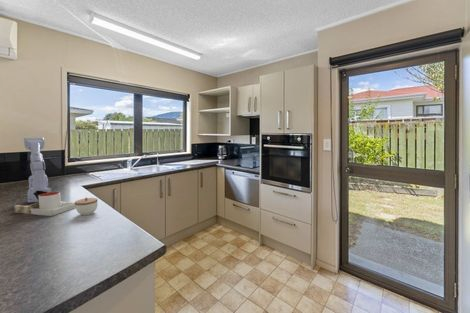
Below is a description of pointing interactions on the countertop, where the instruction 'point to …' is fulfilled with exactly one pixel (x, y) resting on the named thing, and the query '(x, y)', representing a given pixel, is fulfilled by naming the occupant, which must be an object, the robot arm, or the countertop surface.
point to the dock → (63, 208)
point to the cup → (50, 200)
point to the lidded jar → (86, 206)
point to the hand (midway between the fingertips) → (41, 203)
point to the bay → (25, 208)
